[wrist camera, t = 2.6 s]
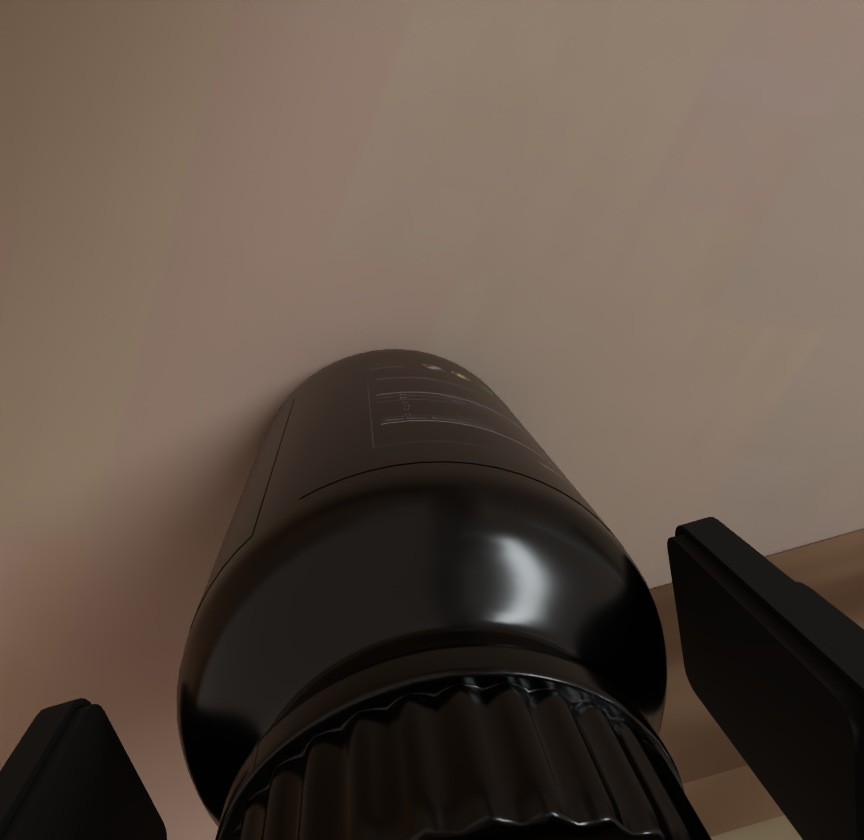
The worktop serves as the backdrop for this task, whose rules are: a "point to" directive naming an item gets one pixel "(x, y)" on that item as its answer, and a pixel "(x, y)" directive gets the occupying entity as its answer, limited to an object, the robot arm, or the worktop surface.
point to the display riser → (701, 735)
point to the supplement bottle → (423, 632)
